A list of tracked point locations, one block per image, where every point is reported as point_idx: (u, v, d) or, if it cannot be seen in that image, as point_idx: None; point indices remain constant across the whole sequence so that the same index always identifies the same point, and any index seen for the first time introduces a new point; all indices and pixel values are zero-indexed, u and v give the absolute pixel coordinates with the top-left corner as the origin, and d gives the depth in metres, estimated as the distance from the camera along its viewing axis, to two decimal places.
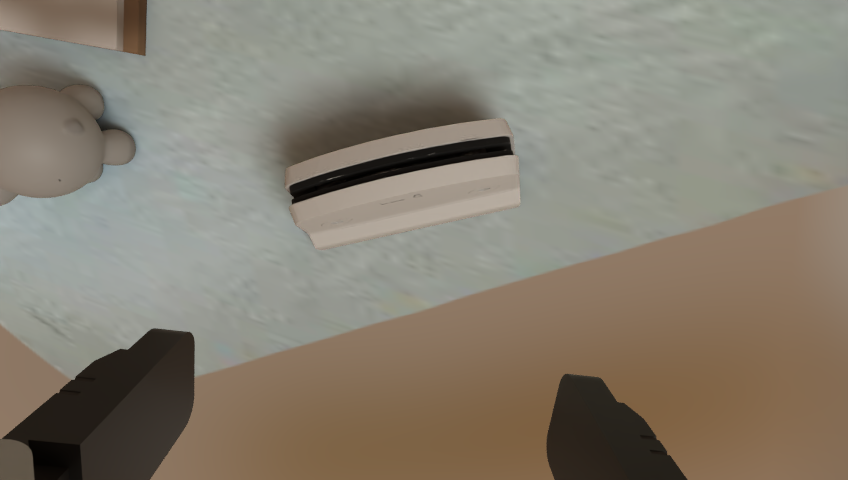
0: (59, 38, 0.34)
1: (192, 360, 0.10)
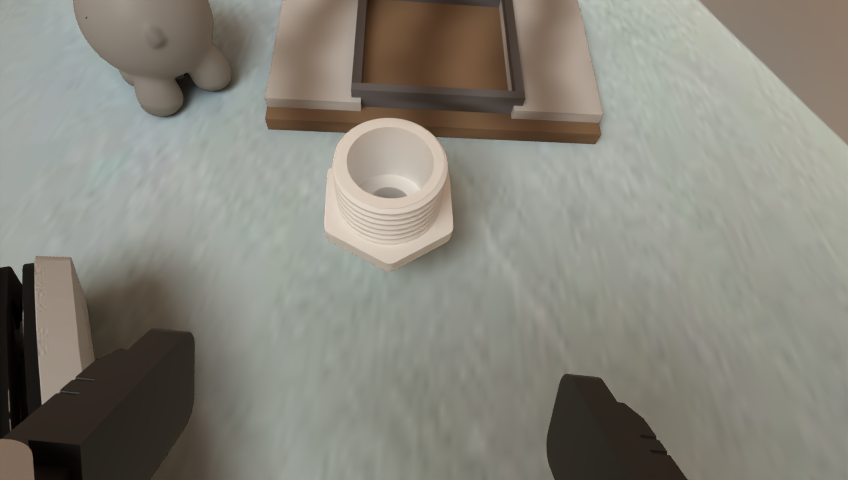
0: (274, 54, 0.33)
1: (192, 360, 0.10)
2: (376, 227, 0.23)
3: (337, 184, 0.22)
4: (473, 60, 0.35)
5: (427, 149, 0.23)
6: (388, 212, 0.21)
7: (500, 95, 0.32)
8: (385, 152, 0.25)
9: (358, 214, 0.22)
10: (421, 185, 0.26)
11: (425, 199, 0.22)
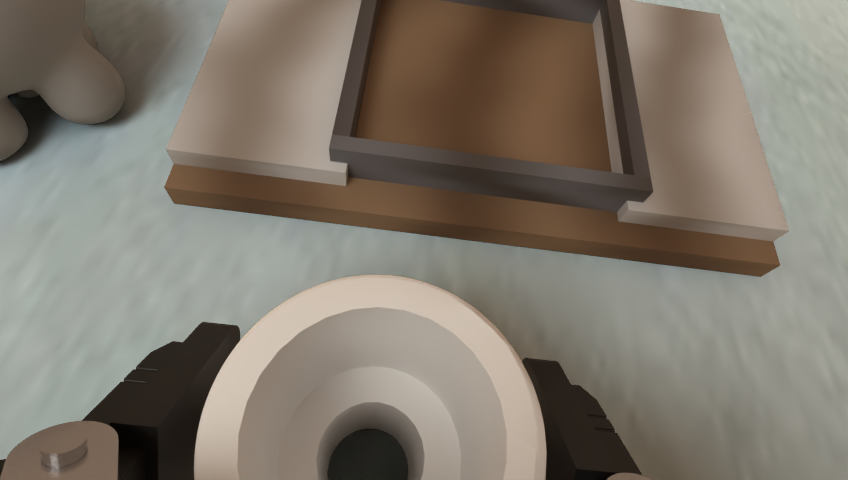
0: (203, 69, 0.18)
1: None
2: None
3: None
4: (551, 108, 0.21)
5: (487, 382, 0.08)
6: None
7: (607, 180, 0.17)
8: (373, 341, 0.10)
9: None
10: (453, 411, 0.11)
11: None
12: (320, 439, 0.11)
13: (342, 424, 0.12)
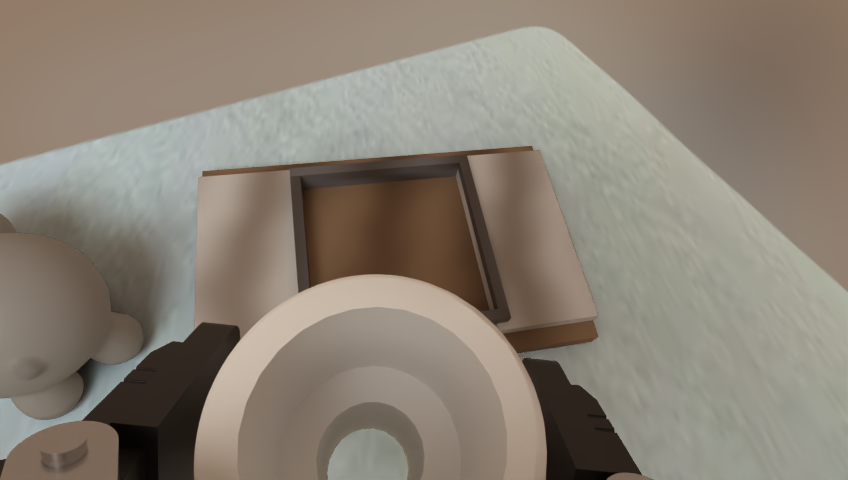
0: (197, 303, 0.26)
1: None
2: None
3: None
4: (439, 258, 0.30)
5: (487, 382, 0.08)
6: None
7: None
8: (373, 341, 0.10)
9: None
10: (453, 411, 0.11)
11: None
12: (320, 439, 0.11)
13: (342, 424, 0.12)
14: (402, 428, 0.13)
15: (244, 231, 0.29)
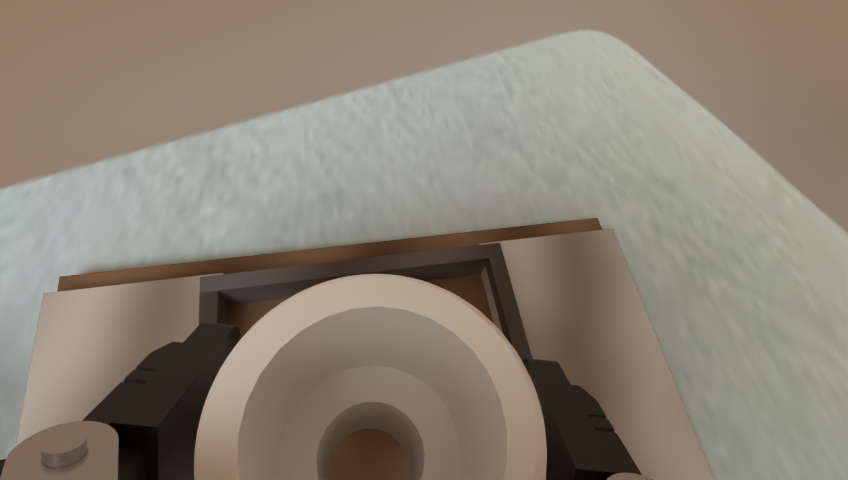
0: None
1: None
2: None
3: None
4: None
5: (487, 381, 0.08)
6: None
7: None
8: (373, 341, 0.10)
9: None
10: (453, 411, 0.11)
11: None
12: (320, 439, 0.11)
13: (342, 424, 0.12)
14: (402, 428, 0.13)
15: None
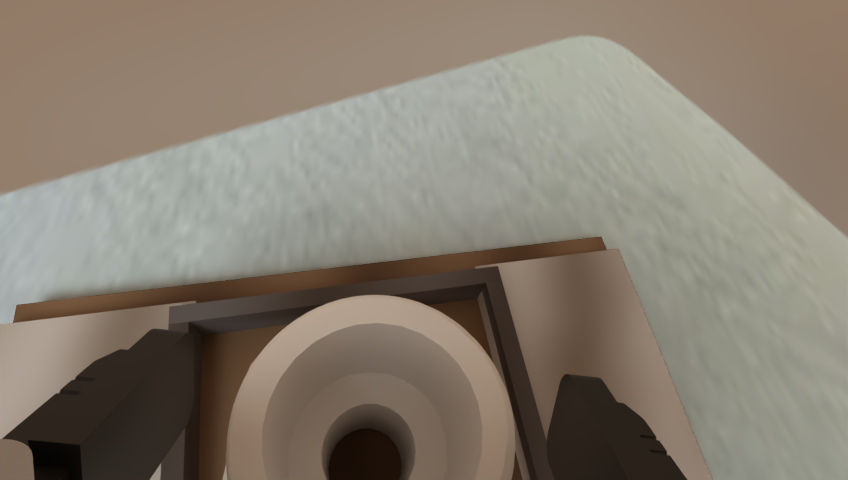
0: None
1: (192, 360, 0.10)
2: None
3: None
4: None
5: (468, 387, 0.10)
6: None
7: None
8: (372, 351, 0.11)
9: None
10: (441, 412, 0.12)
11: None
12: (325, 435, 0.12)
13: (343, 423, 0.14)
14: (396, 428, 0.14)
15: None
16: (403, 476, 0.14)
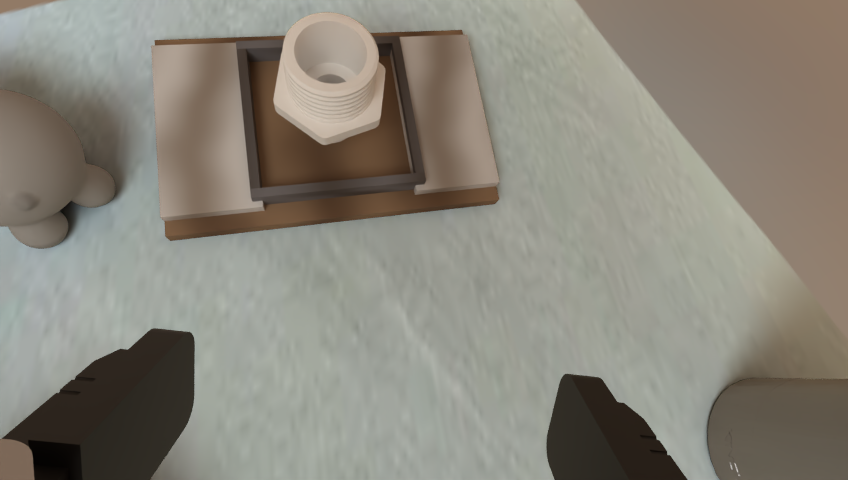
0: (159, 159, 0.31)
1: (192, 360, 0.10)
2: (314, 106, 0.28)
3: (284, 64, 0.27)
4: (371, 129, 0.35)
5: (364, 45, 0.28)
6: (323, 94, 0.27)
7: (402, 180, 0.33)
8: (331, 42, 0.29)
9: (300, 92, 0.27)
10: None
11: (354, 88, 0.27)
12: None
13: None
14: None
15: (197, 98, 0.32)
16: None
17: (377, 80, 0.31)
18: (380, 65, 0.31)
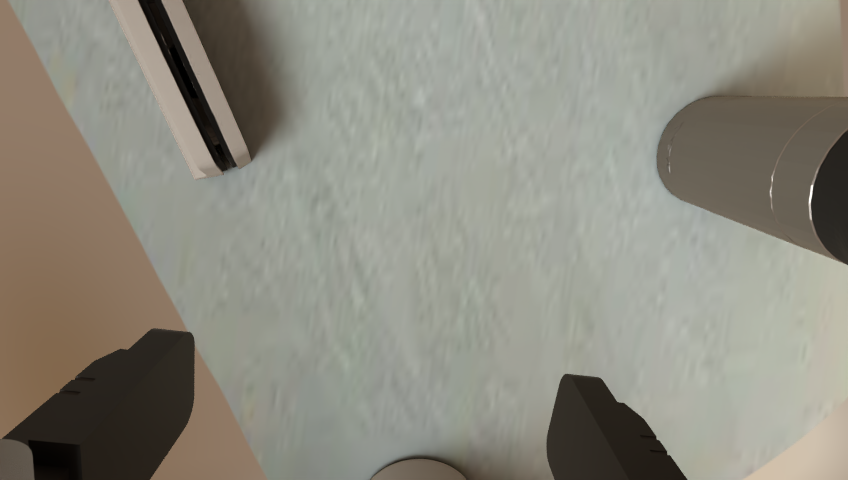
0: None
1: (192, 360, 0.10)
2: None
3: None
4: None
5: None
6: None
7: None
8: None
9: None
10: None
11: None
12: None
13: None
14: None
15: None
16: None
17: None
18: None
